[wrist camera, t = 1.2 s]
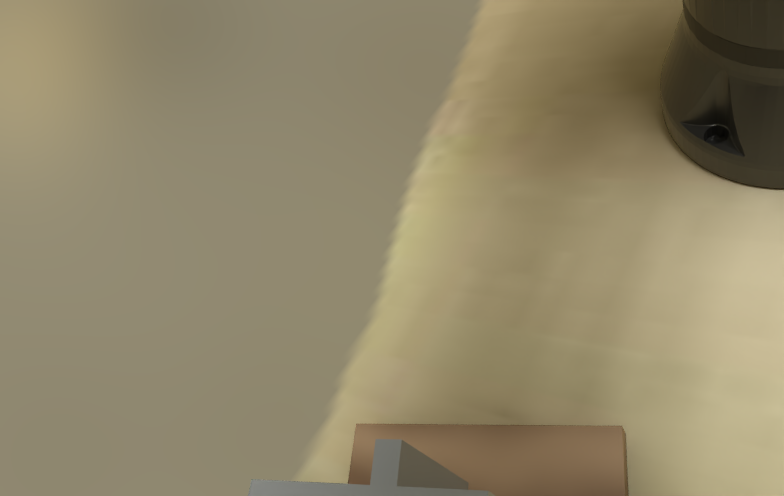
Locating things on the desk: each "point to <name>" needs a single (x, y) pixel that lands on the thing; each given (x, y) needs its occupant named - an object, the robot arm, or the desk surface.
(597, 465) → the board
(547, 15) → the desk surface
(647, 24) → the desk surface
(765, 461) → the desk surface
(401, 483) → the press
